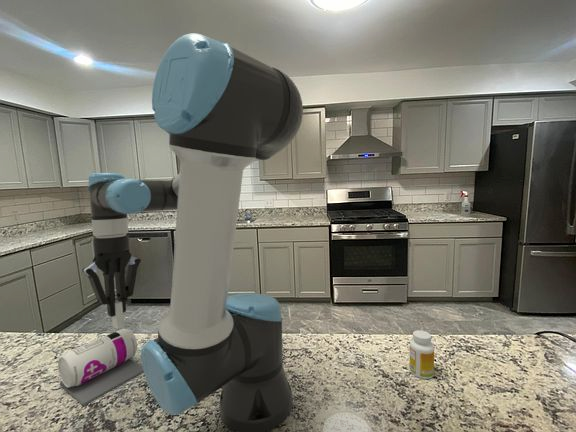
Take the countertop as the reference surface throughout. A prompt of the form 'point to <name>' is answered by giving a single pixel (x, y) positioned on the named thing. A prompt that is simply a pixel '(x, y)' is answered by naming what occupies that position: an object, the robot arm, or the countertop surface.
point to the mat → (104, 382)
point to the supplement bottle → (422, 355)
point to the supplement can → (96, 357)
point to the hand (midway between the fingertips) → (118, 326)
